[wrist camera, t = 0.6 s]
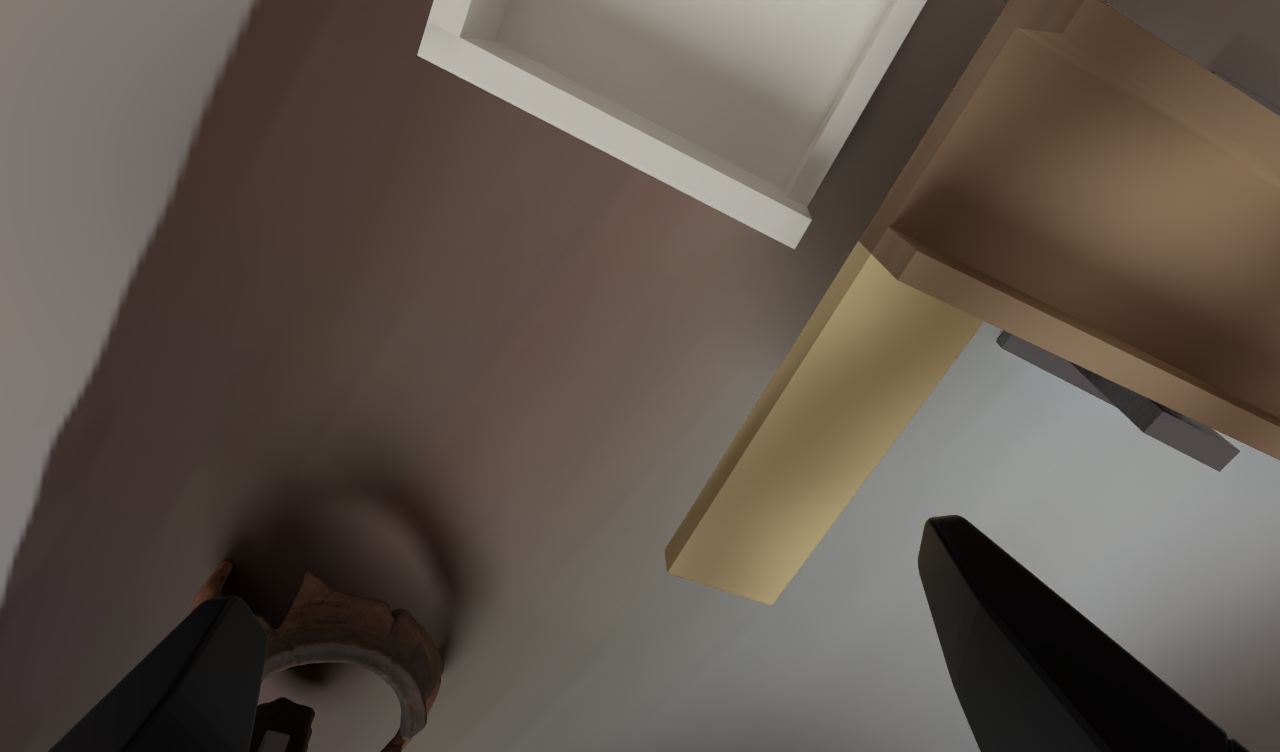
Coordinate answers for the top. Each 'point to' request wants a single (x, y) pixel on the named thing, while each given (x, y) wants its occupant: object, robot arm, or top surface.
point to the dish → (688, 85)
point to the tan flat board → (1023, 274)
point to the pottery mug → (341, 657)
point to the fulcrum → (1136, 407)
